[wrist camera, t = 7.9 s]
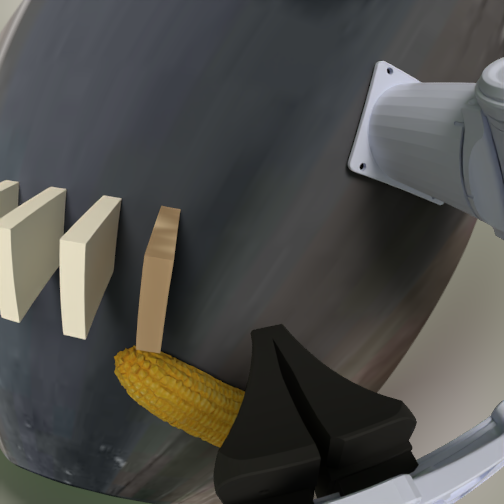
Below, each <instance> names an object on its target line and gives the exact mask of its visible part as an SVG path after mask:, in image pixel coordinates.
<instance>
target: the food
mask: <svg viewBox="0 0 504 504" xmlns="http://www.w3.org/2000/svg"><path fill="white" fill-rule="evenodd" d="M114 358H115V365H116V368H115V372H114V373H115V374H116V376H118V379H119V381H120V383H121V385H123V386H124V388H125V389H127V393H128V394H129V395H130V397H132V398H133V399H134V400H135V401H137V402H138V404H139V405H142V406H143V407H144V408H146V409H147V410H148V411H149V412H151V413H152V414H154V415H156V416H157V417H159V418H160V419H162V420H163V421H166V422H168V423H169V424H170V425H172V426H173V427H177V428H178V429H180V428H181V429H182V430H184V431H185V432H187V433H188V434H190V435H193V436H194V437H200V438H201V439H202V440H203V441H207V442H209V443H211V444H213V445H215V446H217V447H221V446H222V444H223V442H224V441H225V439H226V437H227V435H228V434H229V432H230V430H231V428H232V425H233V423H234V421H235V419H236V417H237V414H238V412H239V409H240V407H241V404H242V401H243V398H244V395H245V392H244V391H242V390H240V389H239V388H234V387H233V386H230V385H228V384H225V383H224V382H222V381H221V380H218V379H215V378H214V377H212V376H211V375H209V374H207V373H205V372H203V371H201V370H199V369H197V368H195V367H193V366H191V365H188V364H186V363H184V362H182V361H180V360H178V359H176V358H174V357H171V356H170V355H167V354H165V353H163V352H160V353H155V352H148V351H142V350H136V346H133V347H131V348H129V349H127V348H125V350H124V351H119V353H117V355H116V356H114Z"/></svg>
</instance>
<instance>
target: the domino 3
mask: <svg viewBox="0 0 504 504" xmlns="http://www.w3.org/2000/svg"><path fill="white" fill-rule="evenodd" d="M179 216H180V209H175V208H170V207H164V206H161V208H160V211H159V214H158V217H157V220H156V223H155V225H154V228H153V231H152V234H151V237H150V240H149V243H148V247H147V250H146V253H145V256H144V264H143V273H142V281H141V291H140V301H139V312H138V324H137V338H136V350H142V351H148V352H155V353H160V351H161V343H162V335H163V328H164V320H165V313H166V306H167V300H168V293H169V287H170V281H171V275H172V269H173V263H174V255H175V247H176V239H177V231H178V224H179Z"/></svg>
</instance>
